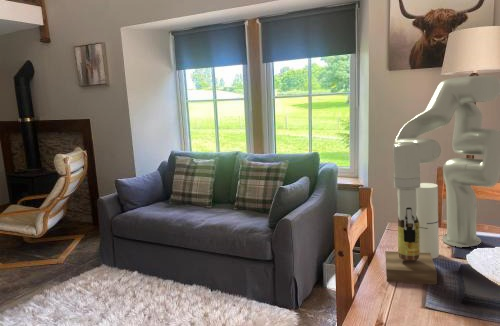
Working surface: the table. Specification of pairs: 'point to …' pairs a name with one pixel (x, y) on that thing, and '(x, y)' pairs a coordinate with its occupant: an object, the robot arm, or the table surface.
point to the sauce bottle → (408, 249)
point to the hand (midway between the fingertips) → (408, 236)
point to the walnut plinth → (410, 269)
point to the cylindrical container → (428, 218)
